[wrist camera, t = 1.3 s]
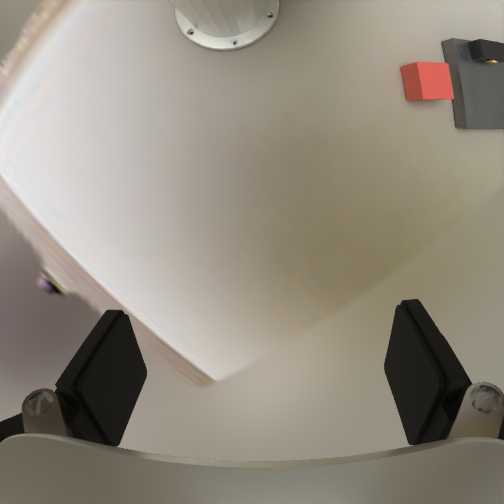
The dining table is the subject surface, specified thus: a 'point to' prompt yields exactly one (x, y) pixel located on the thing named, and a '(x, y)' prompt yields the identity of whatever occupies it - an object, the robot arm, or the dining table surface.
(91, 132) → the dining table surface
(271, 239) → the dining table surface
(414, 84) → the red block
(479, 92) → the panel
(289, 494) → the robot arm
